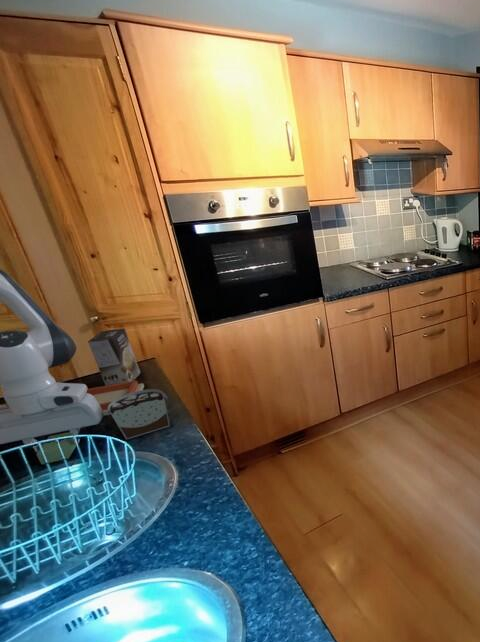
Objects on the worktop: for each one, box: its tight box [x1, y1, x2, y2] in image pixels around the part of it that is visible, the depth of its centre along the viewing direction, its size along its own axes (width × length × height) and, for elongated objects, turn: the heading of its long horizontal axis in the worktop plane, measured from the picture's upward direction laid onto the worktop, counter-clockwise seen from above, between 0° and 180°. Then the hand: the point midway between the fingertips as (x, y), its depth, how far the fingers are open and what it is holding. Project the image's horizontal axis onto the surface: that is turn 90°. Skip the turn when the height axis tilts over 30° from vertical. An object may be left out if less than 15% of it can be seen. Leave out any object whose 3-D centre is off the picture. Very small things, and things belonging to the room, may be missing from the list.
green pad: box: [36, 431, 77, 465], centre depth 111 cm, size 5×8×3 cm, turn 27°
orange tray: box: [87, 379, 145, 417], centre depth 131 cm, size 15×15×3 cm
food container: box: [107, 388, 171, 440], centre depth 119 cm, size 12×6×10 cm, turn 130°
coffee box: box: [87, 328, 141, 386], centre depth 141 cm, size 9×6×16 cm
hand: (58, 446), depth 111 cm, fingers closed on green pad, 5 cm apart
